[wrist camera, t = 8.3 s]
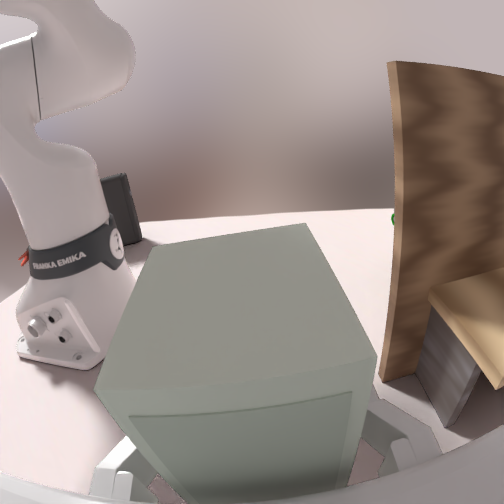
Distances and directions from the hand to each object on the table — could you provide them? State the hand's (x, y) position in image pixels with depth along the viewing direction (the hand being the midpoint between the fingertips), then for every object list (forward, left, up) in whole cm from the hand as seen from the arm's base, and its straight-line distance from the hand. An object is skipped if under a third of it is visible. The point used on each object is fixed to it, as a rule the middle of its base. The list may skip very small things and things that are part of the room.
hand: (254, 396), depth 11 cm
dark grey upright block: (-27, +55, -15) cm, 63 cm away
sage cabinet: (0, -1, -7) cm, 7 cm away
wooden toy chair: (+19, +6, -15) cm, 25 cm away
